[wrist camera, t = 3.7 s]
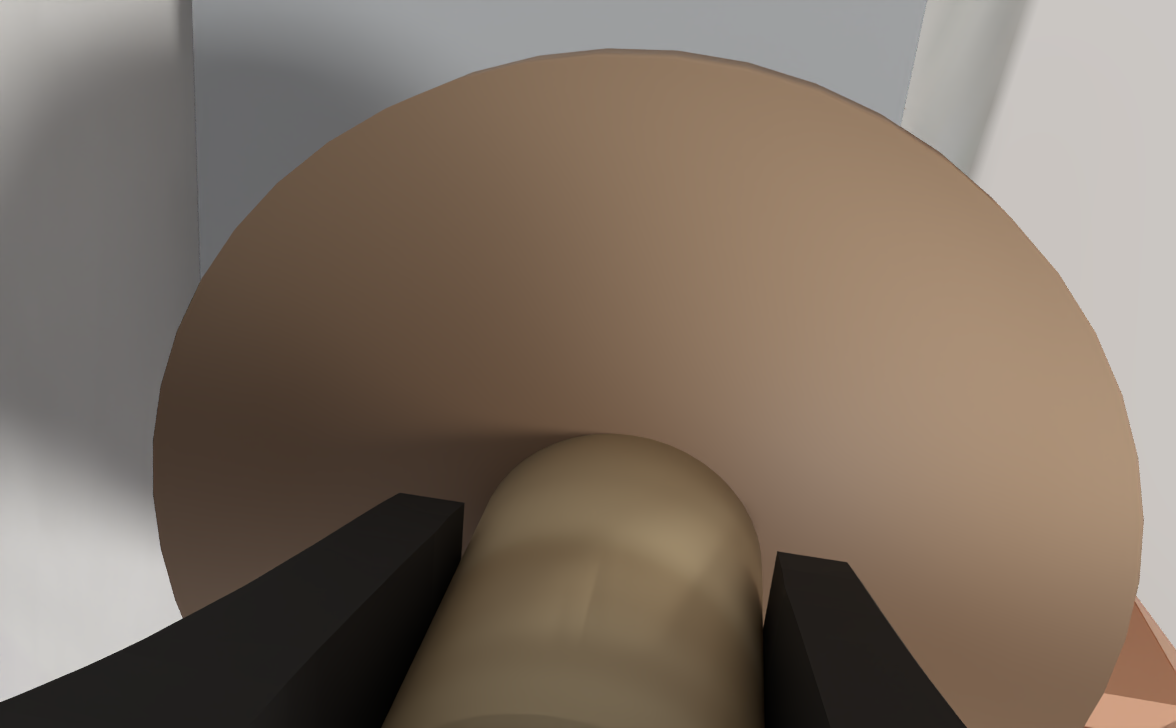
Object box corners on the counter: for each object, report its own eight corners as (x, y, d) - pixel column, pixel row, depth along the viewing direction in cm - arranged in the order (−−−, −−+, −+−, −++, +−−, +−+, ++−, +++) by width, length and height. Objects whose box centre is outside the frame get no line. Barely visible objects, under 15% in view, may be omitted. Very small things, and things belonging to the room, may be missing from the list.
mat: (821, 477, 19) (823, 491, 18) (216, 382, 20) (203, 392, 19) (972, -241, 15) (978, -247, 14) (199, -315, 16) (182, -322, 15)
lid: (994, 941, 13) (1126, 1480, 8) (211, 803, 14) (-52, 1216, 9) (1247, 106, 9) (1721, 256, 5) (163, -2, 10) (-304, 39, 6)
